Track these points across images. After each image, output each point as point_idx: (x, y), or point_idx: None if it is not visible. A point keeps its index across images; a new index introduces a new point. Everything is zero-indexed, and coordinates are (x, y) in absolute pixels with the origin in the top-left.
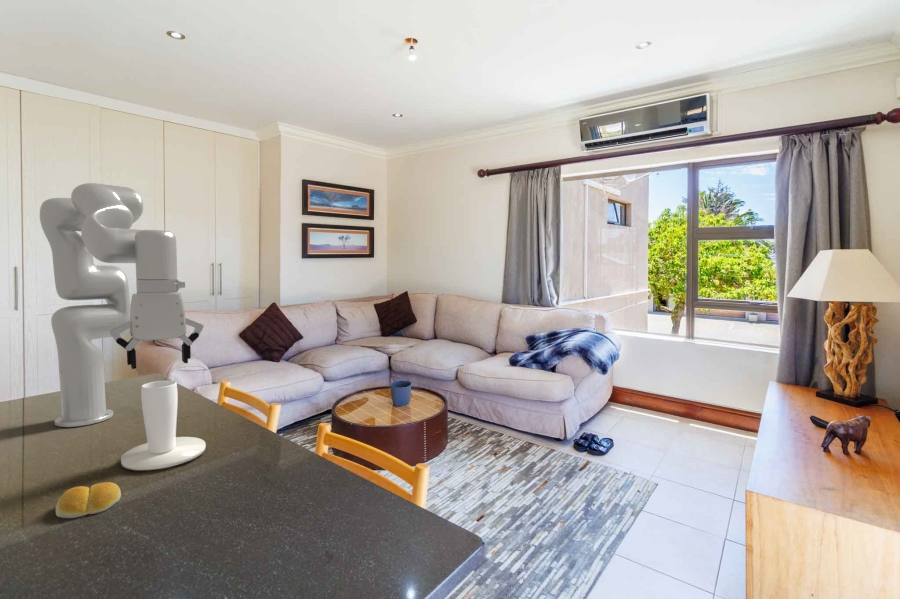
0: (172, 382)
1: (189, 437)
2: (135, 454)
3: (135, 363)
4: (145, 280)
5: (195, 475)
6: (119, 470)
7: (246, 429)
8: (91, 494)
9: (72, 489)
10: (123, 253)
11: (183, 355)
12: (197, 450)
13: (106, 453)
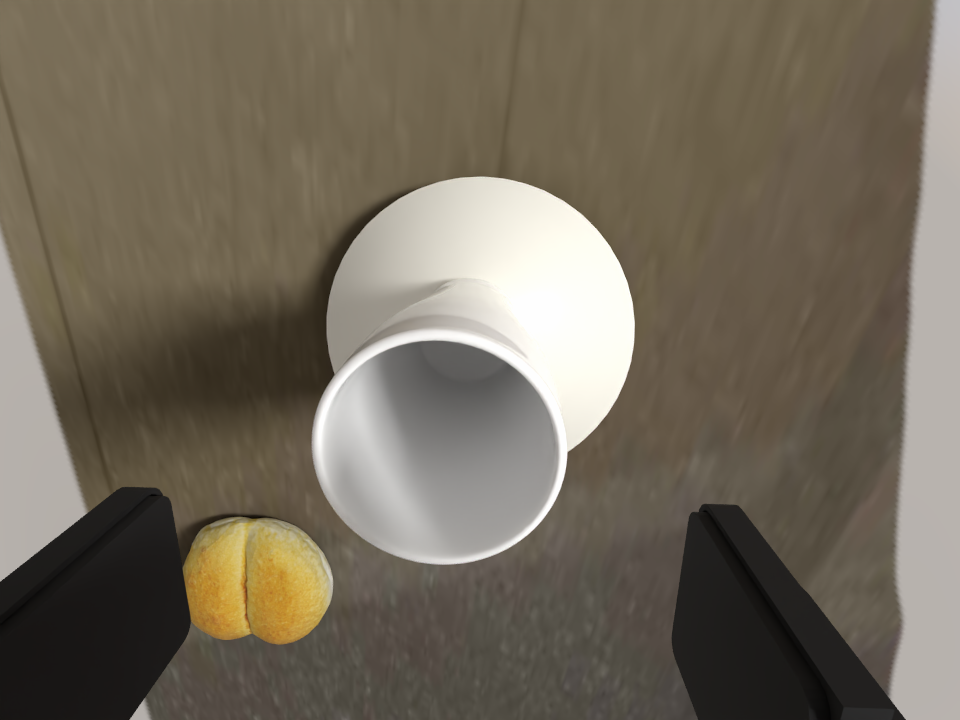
0: (544, 404)
1: (595, 238)
2: (375, 310)
3: (152, 674)
4: None
5: (534, 558)
6: (330, 361)
7: (858, 207)
8: (254, 633)
9: (200, 607)
10: None
11: (708, 684)
12: (582, 424)
13: (279, 123)
